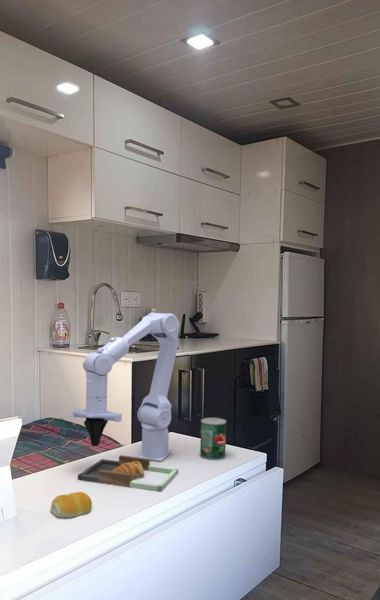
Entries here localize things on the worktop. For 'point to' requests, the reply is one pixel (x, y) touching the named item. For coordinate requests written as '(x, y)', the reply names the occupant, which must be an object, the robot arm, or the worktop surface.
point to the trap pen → (92, 471)
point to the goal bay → (156, 487)
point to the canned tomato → (213, 438)
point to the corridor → (119, 477)
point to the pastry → (131, 469)
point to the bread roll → (71, 505)
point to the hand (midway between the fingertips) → (95, 445)
